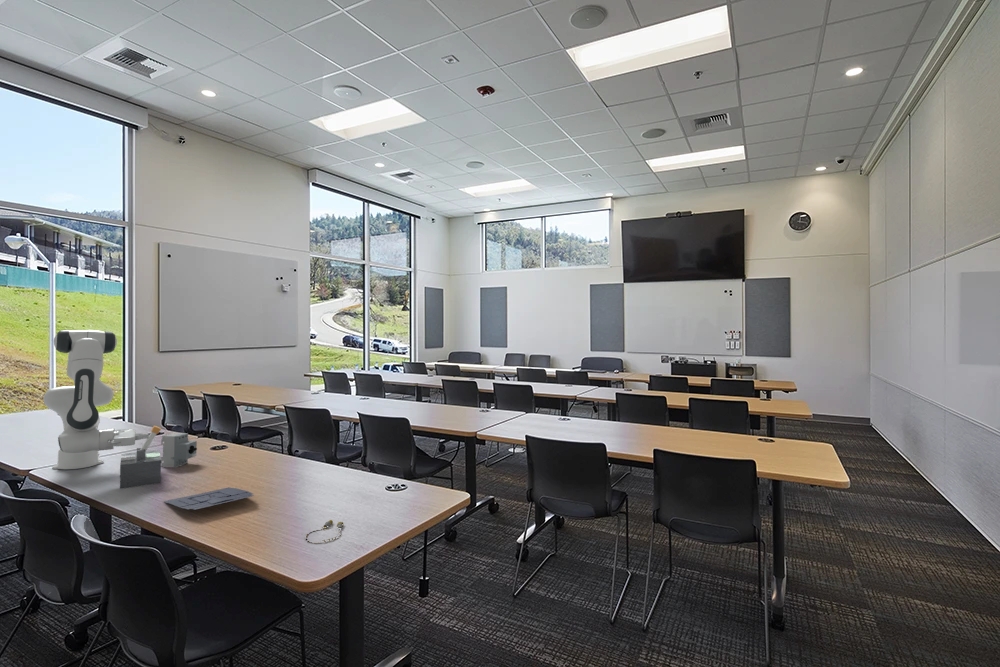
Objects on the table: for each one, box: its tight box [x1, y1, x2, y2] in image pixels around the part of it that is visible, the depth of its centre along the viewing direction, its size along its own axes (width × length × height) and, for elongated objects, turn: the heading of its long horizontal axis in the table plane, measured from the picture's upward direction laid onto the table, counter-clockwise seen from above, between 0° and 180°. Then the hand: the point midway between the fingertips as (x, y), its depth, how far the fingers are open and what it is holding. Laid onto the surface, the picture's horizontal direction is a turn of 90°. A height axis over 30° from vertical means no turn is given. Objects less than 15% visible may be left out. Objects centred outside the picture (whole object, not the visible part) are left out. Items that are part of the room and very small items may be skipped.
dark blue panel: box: [163, 487, 255, 510], centre depth 189 cm, size 24×30×4 cm
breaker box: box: [119, 447, 162, 490], centre depth 217 cm, size 22×14×14 cm, turn 37°
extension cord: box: [322, 519, 344, 542], centre depth 163 cm, size 12×16×2 cm
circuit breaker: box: [160, 432, 198, 468], centre depth 241 cm, size 8×14×15 cm, turn 89°
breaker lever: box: [140, 425, 162, 452], centre depth 218 cm, size 3×3×14 cm
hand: (148, 435), depth 218 cm, fingers closed, pressing on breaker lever
